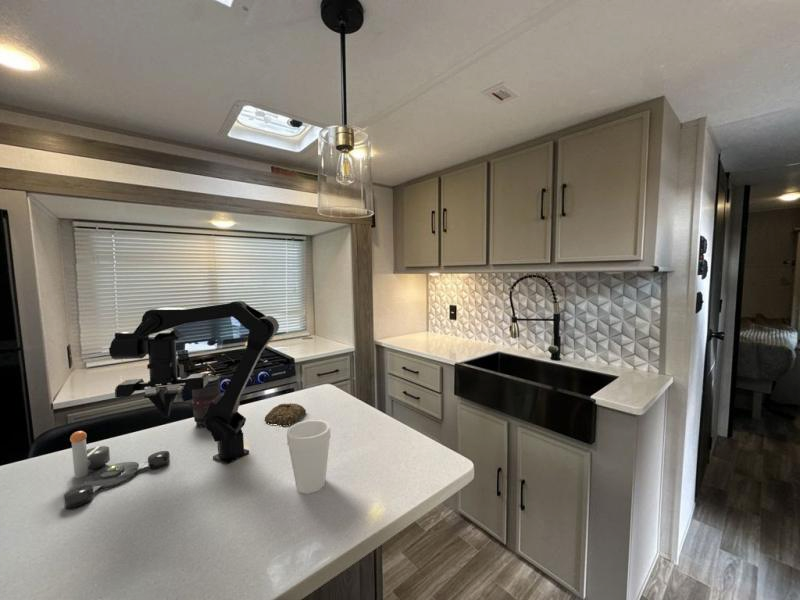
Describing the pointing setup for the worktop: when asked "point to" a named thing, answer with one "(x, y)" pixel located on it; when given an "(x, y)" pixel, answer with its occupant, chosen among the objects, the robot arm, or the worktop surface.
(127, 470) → the tribrach
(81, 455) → the footscrew lever
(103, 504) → the worktop surface
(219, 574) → the worktop surface
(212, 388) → the camera lens
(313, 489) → the foam cup
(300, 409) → the brown rock
